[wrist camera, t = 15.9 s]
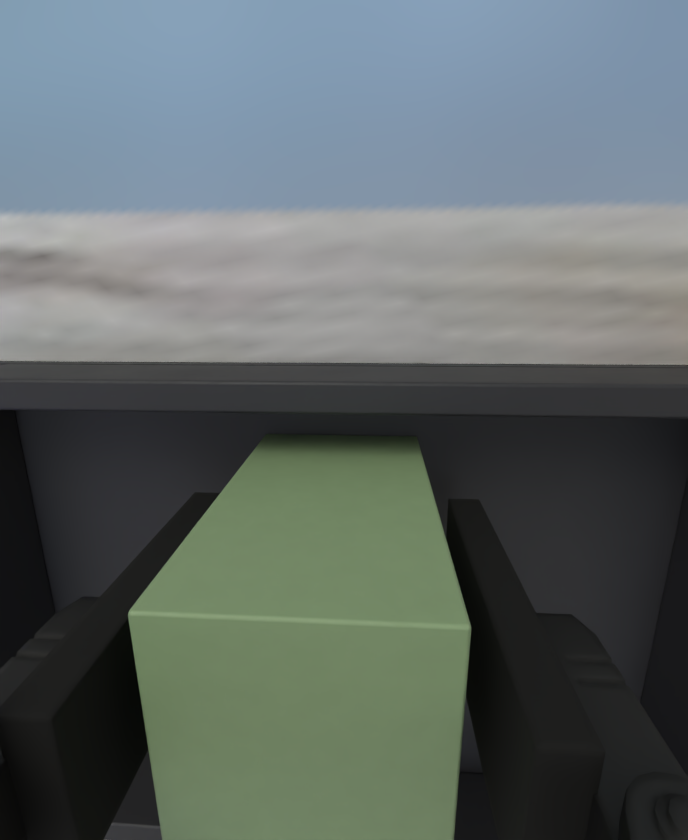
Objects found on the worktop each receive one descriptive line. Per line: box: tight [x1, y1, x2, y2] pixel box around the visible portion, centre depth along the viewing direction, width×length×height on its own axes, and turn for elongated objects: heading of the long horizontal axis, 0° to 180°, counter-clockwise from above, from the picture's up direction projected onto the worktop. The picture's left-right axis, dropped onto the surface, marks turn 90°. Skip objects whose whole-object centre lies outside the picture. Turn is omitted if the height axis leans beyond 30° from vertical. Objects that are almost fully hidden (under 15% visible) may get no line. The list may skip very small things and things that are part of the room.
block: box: [128, 434, 471, 840], centre depth 10 cm, size 4×4×8 cm
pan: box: [0, 361, 688, 840], centre depth 14 cm, size 22×16×3 cm
